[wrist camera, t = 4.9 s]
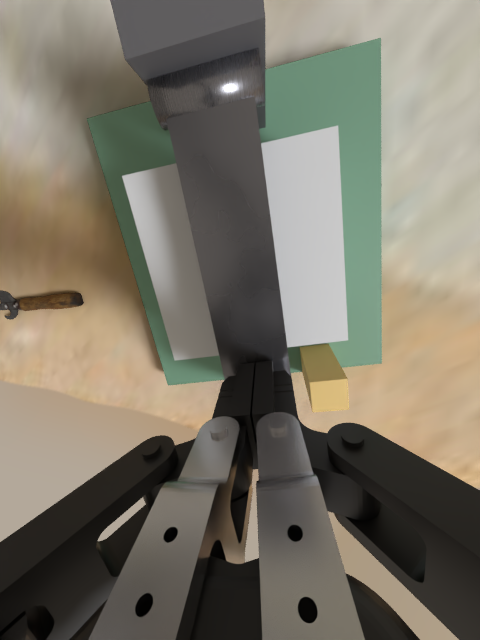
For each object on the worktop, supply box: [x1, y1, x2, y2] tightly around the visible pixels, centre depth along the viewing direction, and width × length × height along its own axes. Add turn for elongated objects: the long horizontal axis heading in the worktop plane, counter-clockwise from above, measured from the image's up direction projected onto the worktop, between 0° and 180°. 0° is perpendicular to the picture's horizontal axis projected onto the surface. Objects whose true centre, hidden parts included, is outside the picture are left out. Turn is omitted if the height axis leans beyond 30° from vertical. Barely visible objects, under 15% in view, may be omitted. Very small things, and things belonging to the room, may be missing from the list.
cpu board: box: [87, 0, 382, 412], centre depth 14 cm, size 18×16×10 cm
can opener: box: [0, 291, 84, 319], centre depth 21 cm, size 9×2×1 cm, turn 90°
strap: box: [148, 48, 291, 380], centre depth 13 cm, size 16×4×6 cm, turn 10°
